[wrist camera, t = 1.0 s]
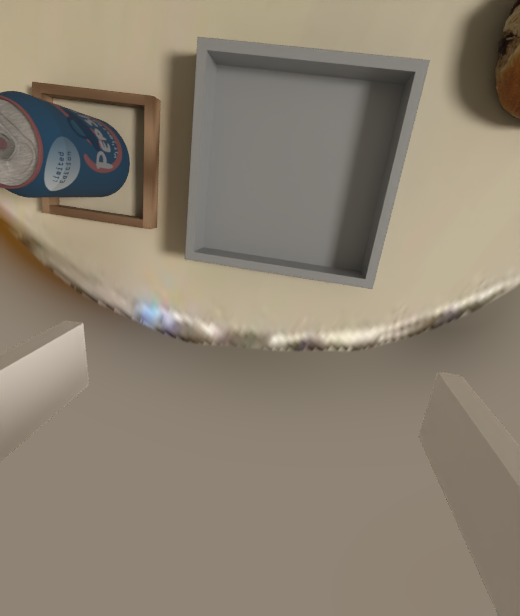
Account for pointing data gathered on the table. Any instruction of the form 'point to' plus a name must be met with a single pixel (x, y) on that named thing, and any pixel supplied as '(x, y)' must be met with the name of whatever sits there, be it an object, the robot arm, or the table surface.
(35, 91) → the walnut frame
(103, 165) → the soda can
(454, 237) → the table surface
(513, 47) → the bread roll
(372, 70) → the grey bin
